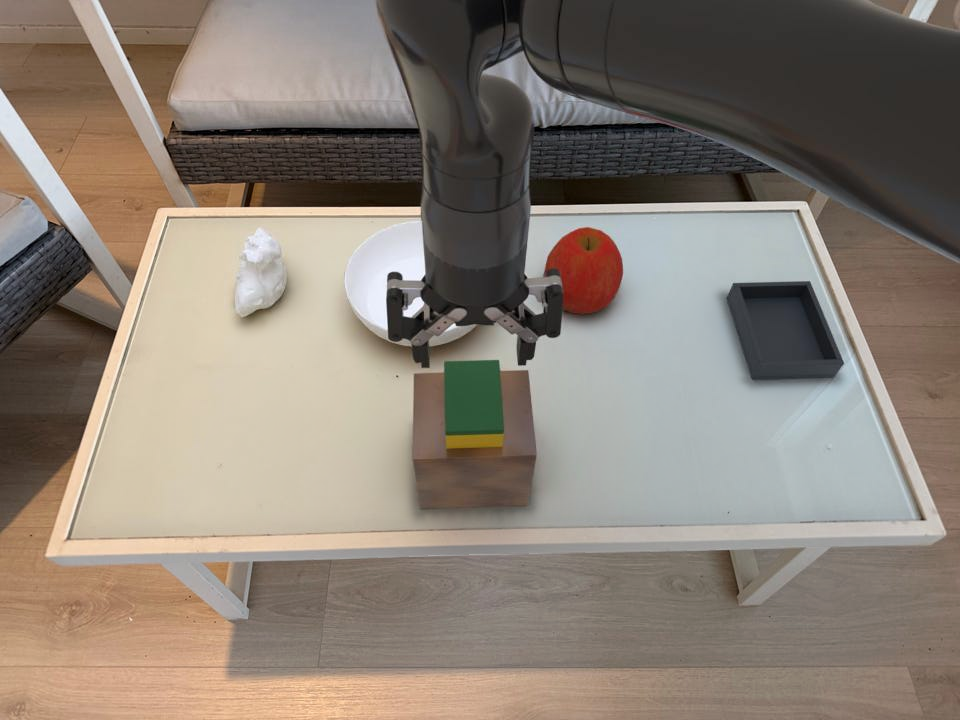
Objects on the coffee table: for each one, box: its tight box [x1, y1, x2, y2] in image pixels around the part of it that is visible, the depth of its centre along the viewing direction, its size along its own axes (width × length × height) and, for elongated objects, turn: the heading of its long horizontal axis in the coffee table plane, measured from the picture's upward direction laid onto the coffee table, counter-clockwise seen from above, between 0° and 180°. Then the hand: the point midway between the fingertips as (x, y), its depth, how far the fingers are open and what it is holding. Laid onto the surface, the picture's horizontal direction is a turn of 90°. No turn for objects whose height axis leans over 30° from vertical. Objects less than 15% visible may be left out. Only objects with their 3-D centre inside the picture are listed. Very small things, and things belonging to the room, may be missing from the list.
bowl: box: [343, 220, 478, 347], centre depth 91 cm, size 20×20×6 cm
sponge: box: [443, 359, 504, 449], centre depth 69 cm, size 8×6×4 cm
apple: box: [542, 226, 624, 315], centre depth 91 cm, size 10×10×10 cm
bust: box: [234, 227, 288, 318], centre depth 91 cm, size 12×8×11 cm
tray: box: [726, 280, 845, 381], centre depth 90 cm, size 13×10×3 cm
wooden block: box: [412, 369, 538, 510], centre depth 75 cm, size 12×10×12 cm
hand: (473, 358), depth 62 cm, fingers open, 8 cm apart
